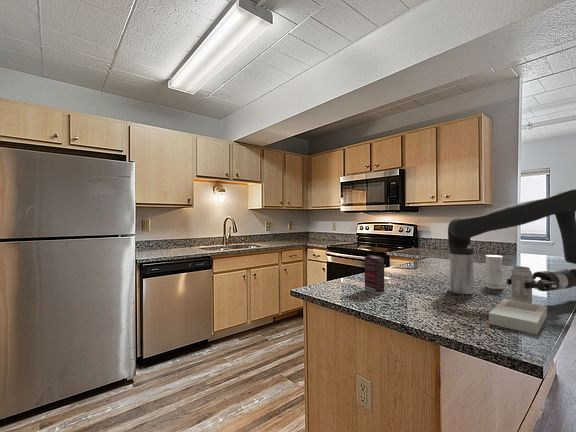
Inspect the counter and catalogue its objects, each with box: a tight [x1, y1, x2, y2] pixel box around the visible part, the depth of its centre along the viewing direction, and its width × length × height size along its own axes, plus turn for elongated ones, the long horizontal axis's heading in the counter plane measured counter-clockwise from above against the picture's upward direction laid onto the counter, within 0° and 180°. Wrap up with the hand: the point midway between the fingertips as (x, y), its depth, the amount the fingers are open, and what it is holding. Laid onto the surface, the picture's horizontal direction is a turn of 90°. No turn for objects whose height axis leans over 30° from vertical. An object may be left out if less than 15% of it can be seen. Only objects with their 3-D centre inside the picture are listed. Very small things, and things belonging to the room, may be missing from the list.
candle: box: [484, 254, 504, 290], centre depth 140 cm, size 7×7×15 cm
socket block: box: [488, 298, 548, 336], centre depth 98 cm, size 12×22×4 cm, turn 133°
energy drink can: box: [511, 265, 533, 304], centre depth 111 cm, size 6×6×15 cm
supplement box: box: [364, 255, 385, 295], centre depth 134 cm, size 9×5×16 cm, turn 22°
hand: (516, 283), depth 110 cm, fingers closed on energy drink can, 6 cm apart
